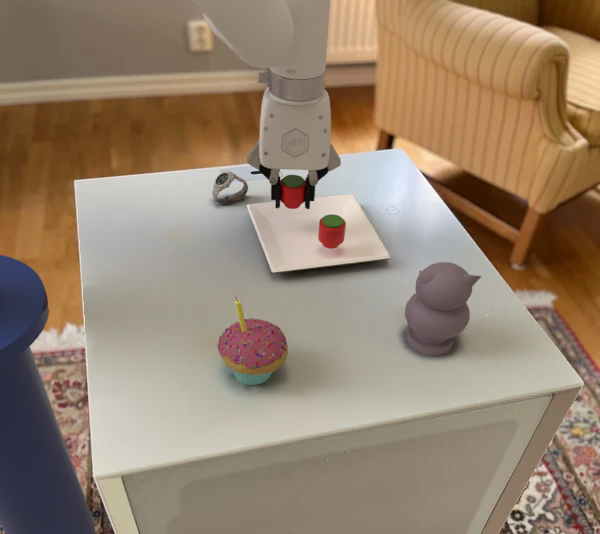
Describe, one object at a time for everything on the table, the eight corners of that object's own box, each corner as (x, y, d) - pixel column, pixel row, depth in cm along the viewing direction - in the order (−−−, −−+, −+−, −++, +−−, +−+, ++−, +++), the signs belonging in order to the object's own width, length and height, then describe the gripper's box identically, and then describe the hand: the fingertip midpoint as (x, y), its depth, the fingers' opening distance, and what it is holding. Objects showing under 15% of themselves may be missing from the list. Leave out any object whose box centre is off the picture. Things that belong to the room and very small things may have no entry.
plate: (352, 203, 110) (353, 192, 109) (389, 267, 98) (391, 256, 97) (246, 214, 106) (246, 203, 105) (271, 282, 94) (272, 271, 93)
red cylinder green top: (318, 251, 97) (320, 227, 93) (317, 236, 99) (319, 212, 96) (344, 252, 97) (347, 228, 94) (342, 237, 99) (345, 213, 96)
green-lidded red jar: (287, 214, 98) (288, 189, 95) (274, 201, 100) (275, 176, 97) (309, 207, 99) (311, 182, 96) (296, 195, 101) (297, 170, 98)
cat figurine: (456, 322, 90) (478, 251, 81) (465, 361, 85) (489, 289, 76) (397, 319, 90) (412, 247, 81) (401, 357, 85) (418, 285, 76)
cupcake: (213, 390, 79) (207, 317, 70) (227, 344, 85) (224, 271, 76) (281, 400, 79) (284, 327, 70) (291, 353, 84) (295, 280, 76)
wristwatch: (210, 199, 109) (208, 172, 105) (243, 192, 111) (242, 165, 107) (218, 209, 107) (217, 182, 103) (251, 202, 109) (251, 174, 105)
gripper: (233, 92, 83) (237, 216, 97) (360, 96, 84) (347, 218, 97) (235, 69, 88) (239, 190, 102) (356, 73, 89) (343, 192, 102)
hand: (292, 202), depth 99 cm, fingers closed on green-lidded red jar, 4 cm apart
